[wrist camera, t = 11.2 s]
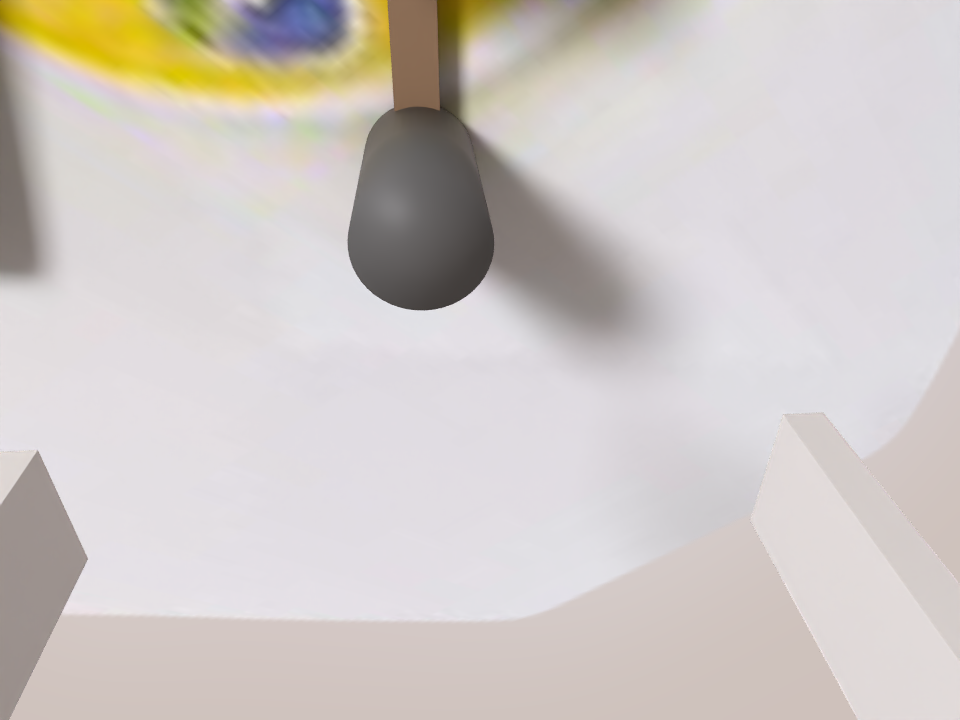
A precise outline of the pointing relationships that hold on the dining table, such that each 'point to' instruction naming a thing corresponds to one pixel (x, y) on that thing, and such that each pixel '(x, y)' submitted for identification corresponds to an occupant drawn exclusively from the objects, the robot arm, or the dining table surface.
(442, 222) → the block
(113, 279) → the dining table surface
